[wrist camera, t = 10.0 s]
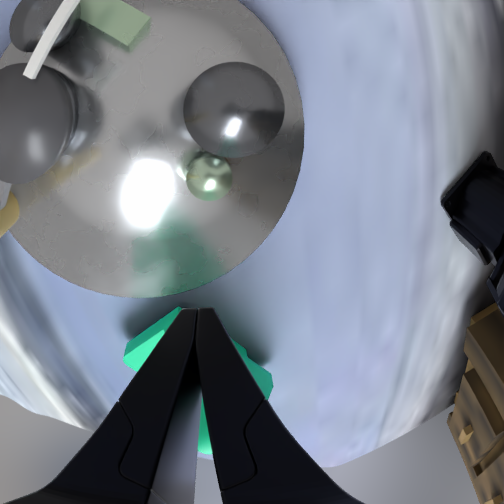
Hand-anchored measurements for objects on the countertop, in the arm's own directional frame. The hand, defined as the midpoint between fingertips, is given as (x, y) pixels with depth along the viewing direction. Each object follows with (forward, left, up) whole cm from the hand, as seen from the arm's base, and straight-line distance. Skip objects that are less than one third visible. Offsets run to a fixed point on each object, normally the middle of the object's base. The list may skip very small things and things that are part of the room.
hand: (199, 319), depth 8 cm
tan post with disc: (+3, -11, -12) cm, 17 cm away
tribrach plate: (+2, -5, -13) cm, 14 cm away
